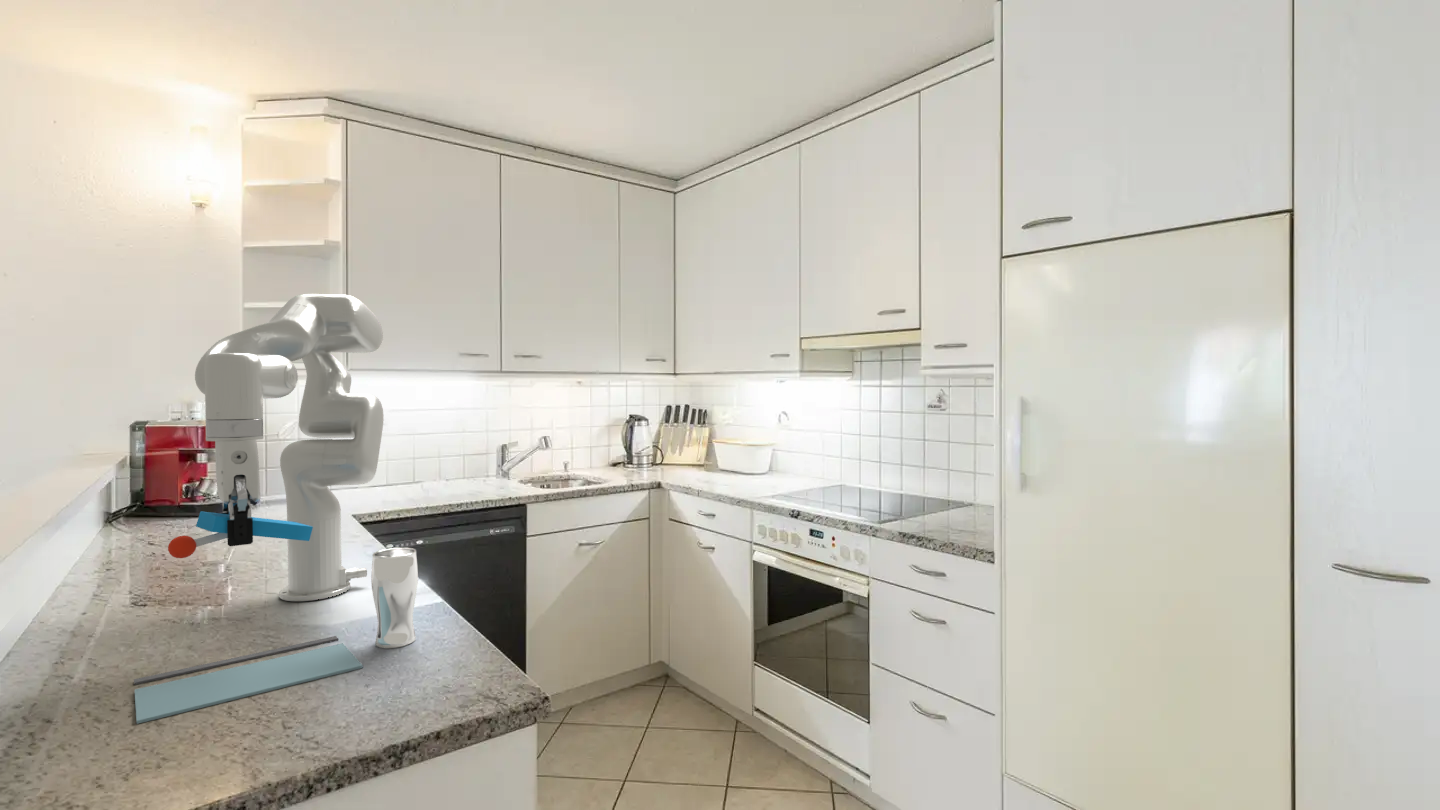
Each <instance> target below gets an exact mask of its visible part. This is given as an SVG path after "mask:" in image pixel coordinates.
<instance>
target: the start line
mask: <svg viewBox="0 0 1440 810" xmlns="http://www.w3.org/2000/svg"><path fill="white" fill-rule="evenodd" d="M335 640H337V641H339V637H338V636H337V635H334V636H329V637H325V638H320V639H315V640H311V641H310V640H309V641H306V642H302V643H301V642H300V643H296V644H291V645H287V646H283V647H279V648H274V649H268V650H263V651H260V652H254V653H251V654H250V653H249V654H246V655H245V654H244V655H241V656H236V657H231V658H227V659H221V660H217V661H213V662H209V663H204V664H199V665H194V666H189V667H184V668H180V669H179V668H178V669H176V670H171V671H167V672H162V673H157V674H156V673H155V674H152V675H148V676H147V675H146V676H143V677H142V676H141V677H138V678H134V679H133V686H136V685H141V684H145V683H149V682H153V681H158V680H162V679H167V678H168V679H169V678H171V677H173V678H174V677H177V676H180V675H185V674H190V673H195V672H199V671H203V670H204V671H205V670H208V669H214V668H219V667H222V666H227V665H231V664H232V665H233V664H235V663H240V662H244V661H250V660H254V659H260V658H264V657H268V656H271V655H278V654H282V653H287V652H290V651H296V650H299V649H305V648H308V647H313V646H318V644H319V645H323V644H326V642H328V643H331V642H330V641H332V642H336V641H335ZM322 643H323V644H322Z"/></svg>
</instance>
